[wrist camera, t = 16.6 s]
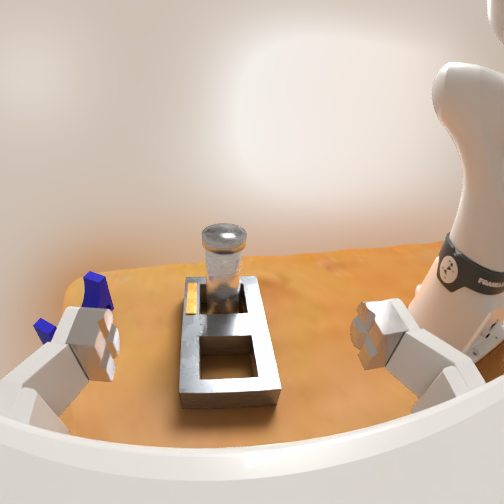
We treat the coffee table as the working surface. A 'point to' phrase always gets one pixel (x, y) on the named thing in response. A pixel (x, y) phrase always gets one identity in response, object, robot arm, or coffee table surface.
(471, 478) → the robot arm
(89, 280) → the cable clip
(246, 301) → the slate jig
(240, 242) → the steel bushing
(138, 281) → the coffee table surface
